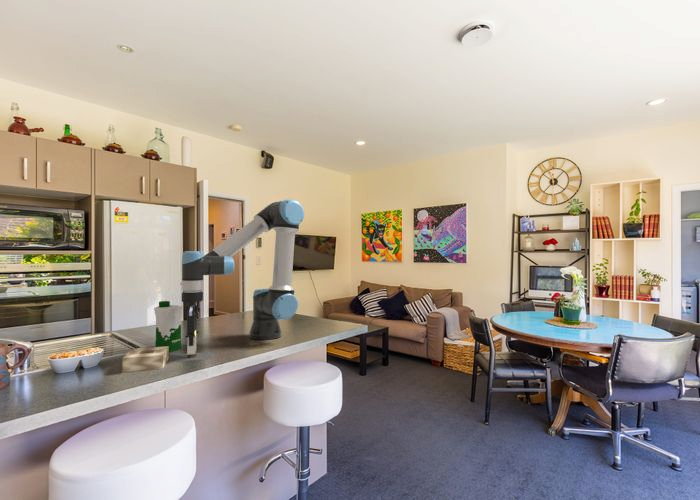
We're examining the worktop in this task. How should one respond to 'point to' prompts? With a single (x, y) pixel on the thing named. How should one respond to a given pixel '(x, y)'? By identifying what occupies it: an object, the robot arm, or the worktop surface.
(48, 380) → the worktop surface
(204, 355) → the mat
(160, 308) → the milk carton
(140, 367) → the hole block
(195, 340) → the brass pin
